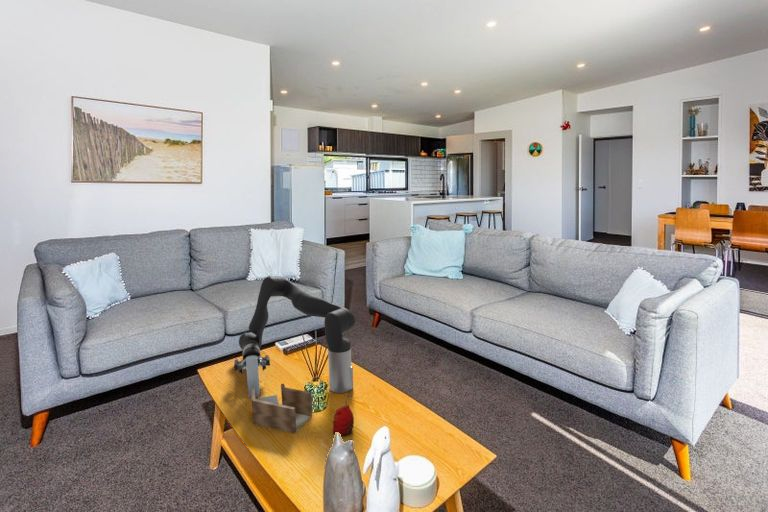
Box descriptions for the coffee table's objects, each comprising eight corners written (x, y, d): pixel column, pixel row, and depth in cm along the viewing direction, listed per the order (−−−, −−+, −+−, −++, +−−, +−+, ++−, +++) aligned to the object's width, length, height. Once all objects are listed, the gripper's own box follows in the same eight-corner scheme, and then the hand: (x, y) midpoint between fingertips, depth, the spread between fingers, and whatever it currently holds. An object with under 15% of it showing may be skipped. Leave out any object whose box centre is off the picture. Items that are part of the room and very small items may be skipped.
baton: (259, 391, 169) (257, 354, 167) (260, 397, 165) (257, 359, 162) (248, 393, 168) (245, 356, 165) (248, 399, 164) (245, 360, 161)
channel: (307, 401, 162) (306, 379, 160) (316, 429, 144) (315, 405, 142) (252, 411, 155) (251, 388, 154) (254, 441, 137) (252, 416, 135)
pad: (276, 395, 166) (276, 394, 166) (278, 404, 160) (278, 403, 160) (258, 398, 164) (258, 398, 164) (259, 407, 157) (259, 406, 157)
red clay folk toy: (343, 422, 147) (341, 383, 144) (358, 429, 143) (357, 389, 140) (328, 433, 141) (326, 392, 138) (344, 440, 137) (343, 398, 134)
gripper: (233, 348, 181) (233, 364, 166) (267, 344, 186) (270, 358, 171) (235, 365, 183) (234, 381, 167) (268, 360, 187) (271, 375, 172)
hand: (252, 369), depth 169 cm, fingers open, 8 cm apart
